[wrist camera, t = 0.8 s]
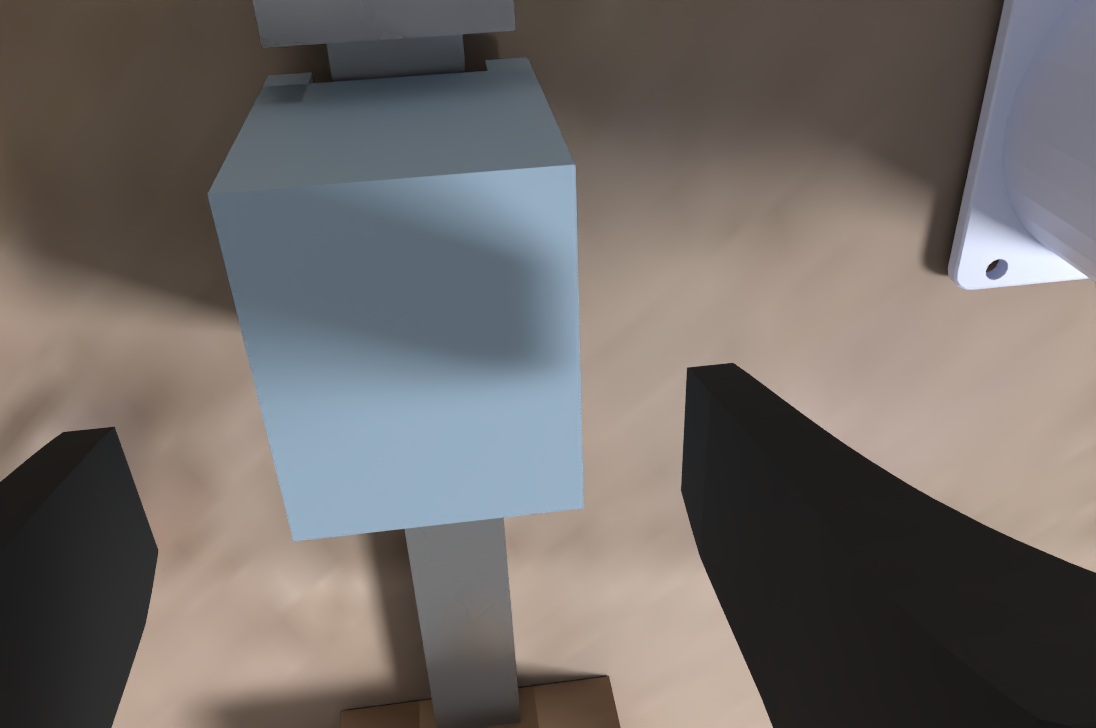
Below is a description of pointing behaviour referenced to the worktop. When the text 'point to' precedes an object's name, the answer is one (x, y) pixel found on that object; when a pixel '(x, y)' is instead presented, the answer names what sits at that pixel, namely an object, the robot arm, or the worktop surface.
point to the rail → (458, 548)
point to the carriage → (408, 296)
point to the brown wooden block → (545, 710)
